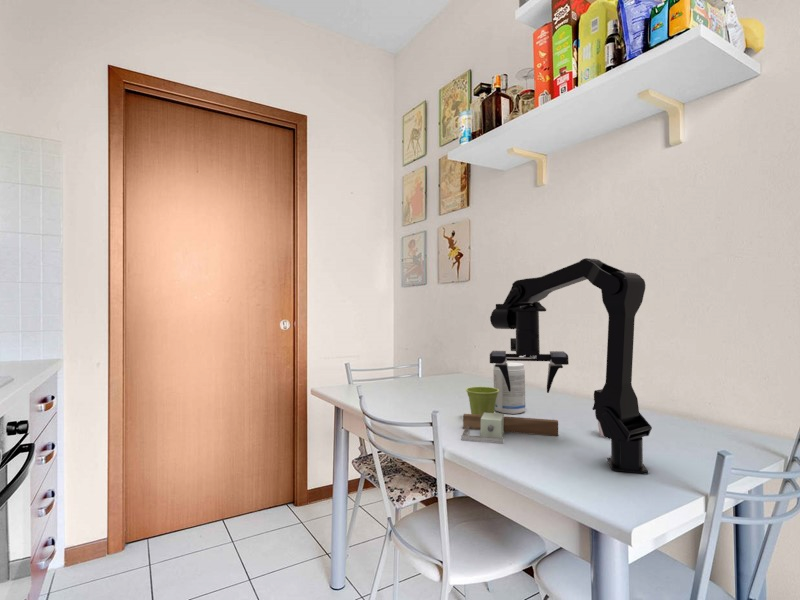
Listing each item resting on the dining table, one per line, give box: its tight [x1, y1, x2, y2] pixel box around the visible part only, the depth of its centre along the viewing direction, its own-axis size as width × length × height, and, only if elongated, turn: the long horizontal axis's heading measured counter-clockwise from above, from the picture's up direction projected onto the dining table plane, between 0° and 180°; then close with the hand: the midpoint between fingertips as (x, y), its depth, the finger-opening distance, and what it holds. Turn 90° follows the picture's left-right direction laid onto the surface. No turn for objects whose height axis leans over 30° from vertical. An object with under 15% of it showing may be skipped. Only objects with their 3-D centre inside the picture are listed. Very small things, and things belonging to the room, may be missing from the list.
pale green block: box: [480, 412, 505, 438], centre depth 111 cm, size 8×5×5 cm, turn 162°
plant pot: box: [465, 386, 499, 415], centre depth 127 cm, size 9×9×9 cm
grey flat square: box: [460, 426, 504, 444], centre depth 111 cm, size 10×10×1 cm
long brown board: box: [462, 413, 559, 437], centre depth 116 cm, size 2×24×4 cm, turn 74°
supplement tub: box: [492, 361, 526, 415], centre depth 138 cm, size 10×10×15 cm
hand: (528, 391), depth 111 cm, fingers open, 9 cm apart
